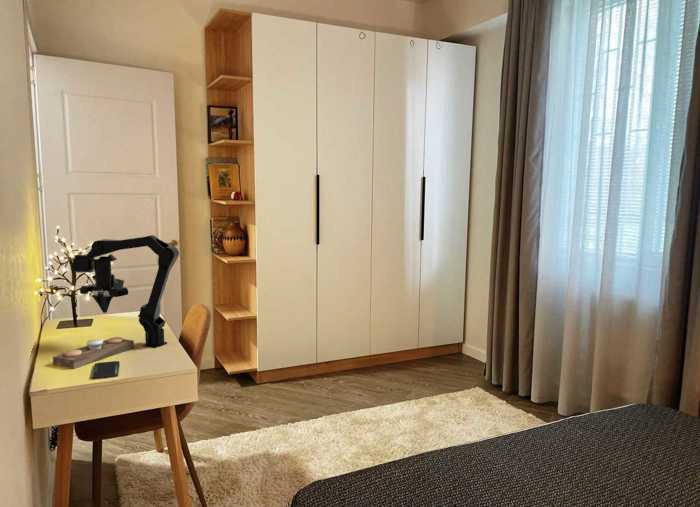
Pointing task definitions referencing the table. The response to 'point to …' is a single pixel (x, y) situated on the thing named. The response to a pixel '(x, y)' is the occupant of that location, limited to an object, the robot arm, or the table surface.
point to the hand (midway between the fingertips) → (105, 312)
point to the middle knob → (95, 344)
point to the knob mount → (92, 354)
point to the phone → (105, 370)
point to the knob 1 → (73, 353)
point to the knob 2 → (115, 340)
